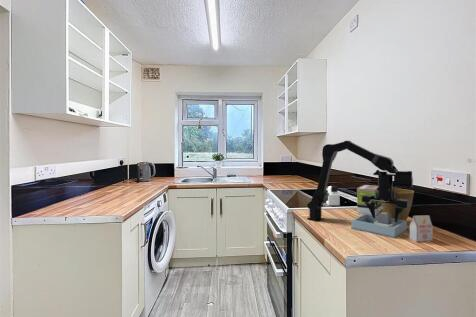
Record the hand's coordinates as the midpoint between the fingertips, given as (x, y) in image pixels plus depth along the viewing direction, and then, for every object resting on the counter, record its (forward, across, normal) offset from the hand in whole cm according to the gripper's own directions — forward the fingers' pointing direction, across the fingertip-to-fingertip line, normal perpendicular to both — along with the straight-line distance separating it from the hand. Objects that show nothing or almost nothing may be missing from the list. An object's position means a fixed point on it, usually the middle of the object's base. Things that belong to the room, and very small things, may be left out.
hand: (384, 219), depth 120 cm
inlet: (+5, 0, 0) cm, 5 cm away
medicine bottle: (+5, +44, -34) cm, 55 cm away
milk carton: (+5, -14, +3) cm, 16 cm away
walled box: (+5, +2, 0) cm, 5 cm away
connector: (+4, 0, 0) cm, 4 cm away
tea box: (+5, +18, -30) cm, 36 cm away
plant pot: (+5, +1, -17) cm, 18 cm away
